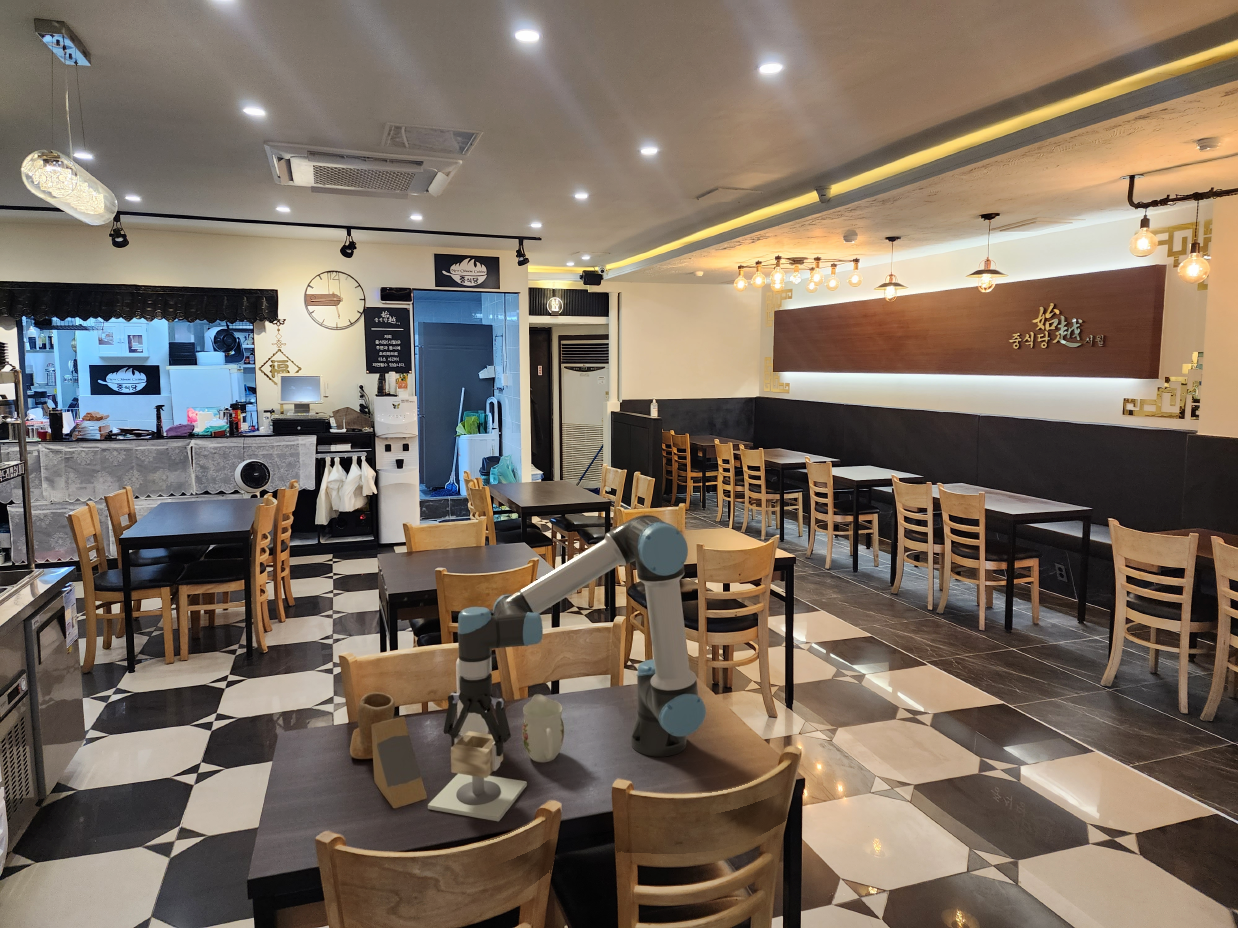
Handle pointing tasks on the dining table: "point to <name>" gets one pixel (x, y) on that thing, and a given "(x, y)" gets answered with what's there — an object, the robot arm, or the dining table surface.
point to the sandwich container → (396, 763)
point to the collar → (473, 755)
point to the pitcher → (542, 728)
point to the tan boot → (370, 722)
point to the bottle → (470, 714)
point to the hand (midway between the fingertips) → (477, 764)
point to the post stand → (478, 796)
